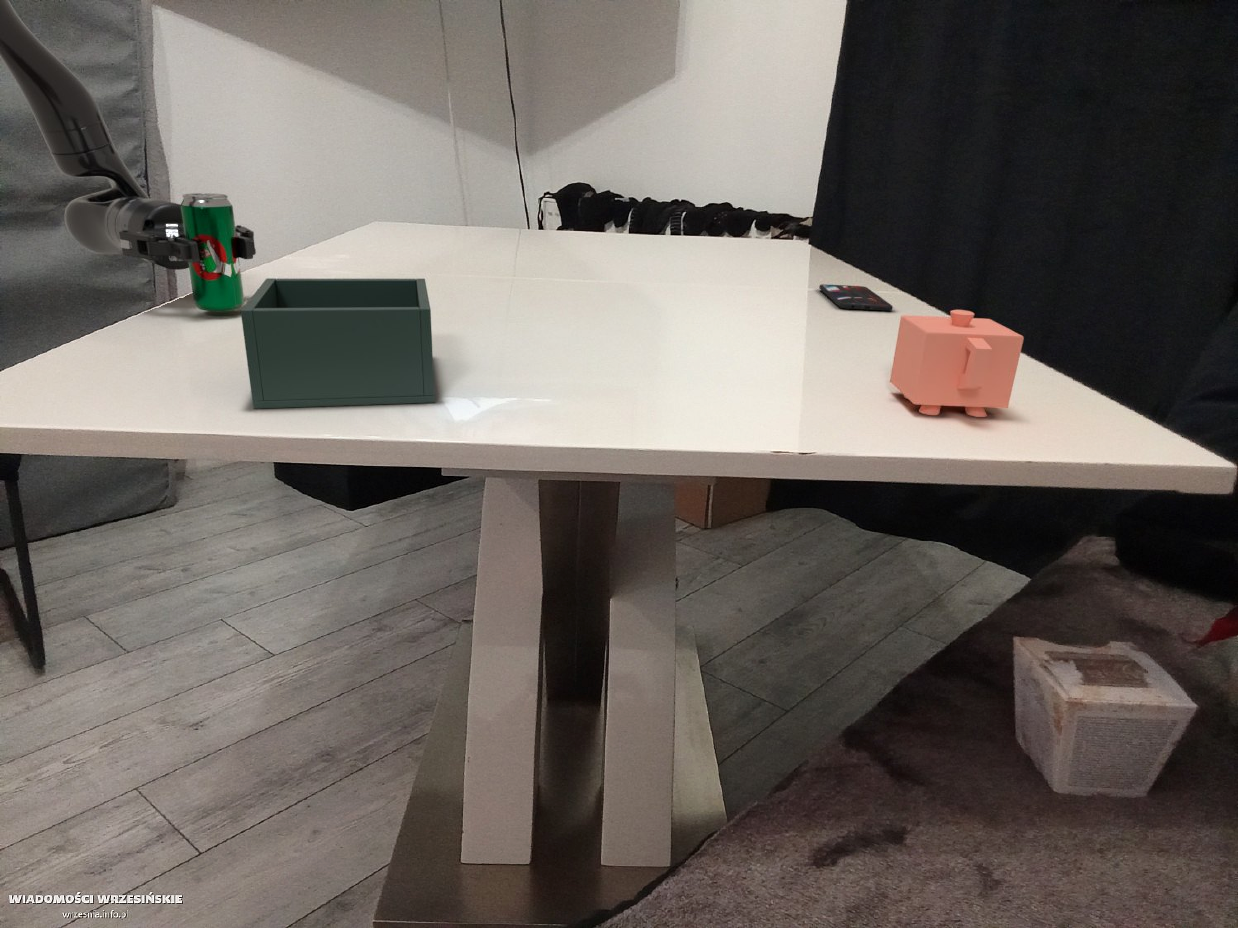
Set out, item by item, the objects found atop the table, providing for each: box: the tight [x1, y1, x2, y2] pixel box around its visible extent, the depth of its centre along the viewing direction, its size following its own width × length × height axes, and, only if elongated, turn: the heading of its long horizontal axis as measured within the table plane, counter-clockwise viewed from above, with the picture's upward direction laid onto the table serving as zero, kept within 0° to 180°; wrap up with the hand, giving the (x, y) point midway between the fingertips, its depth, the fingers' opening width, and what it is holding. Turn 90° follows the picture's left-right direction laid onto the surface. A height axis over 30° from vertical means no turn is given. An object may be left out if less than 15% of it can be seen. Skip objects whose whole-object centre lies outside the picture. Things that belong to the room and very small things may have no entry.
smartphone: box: [818, 283, 894, 311], centre depth 117 cm, size 7×1×15 cm
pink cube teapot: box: [889, 309, 1025, 418], centre depth 71 cm, size 8×12×8 cm, turn 0°
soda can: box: [180, 192, 245, 312], centre depth 90 cm, size 5×5×12 cm
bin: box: [240, 277, 436, 410], centre depth 70 cm, size 14×14×8 cm
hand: (222, 251), depth 88 cm, fingers closed on soda can, 5 cm apart
